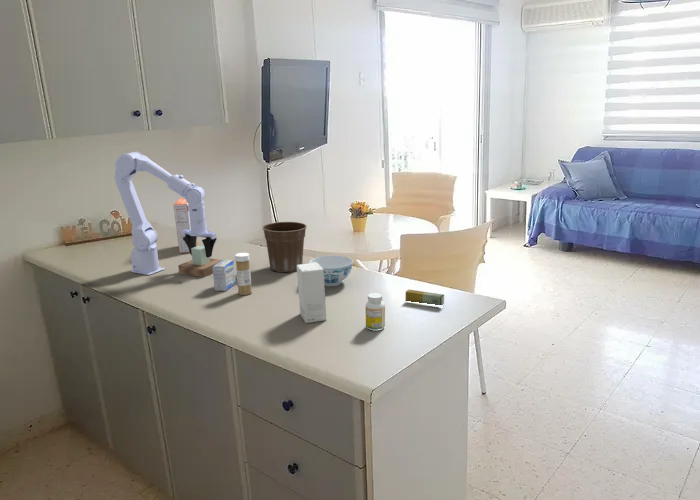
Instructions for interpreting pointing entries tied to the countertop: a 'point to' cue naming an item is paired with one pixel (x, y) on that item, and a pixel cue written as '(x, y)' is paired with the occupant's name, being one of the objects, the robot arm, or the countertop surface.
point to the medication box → (424, 297)
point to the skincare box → (311, 292)
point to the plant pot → (285, 245)
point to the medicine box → (224, 275)
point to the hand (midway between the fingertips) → (201, 255)
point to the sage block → (199, 255)
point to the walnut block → (198, 268)
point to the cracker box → (182, 223)
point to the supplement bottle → (375, 312)
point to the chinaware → (334, 268)
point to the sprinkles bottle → (243, 273)
